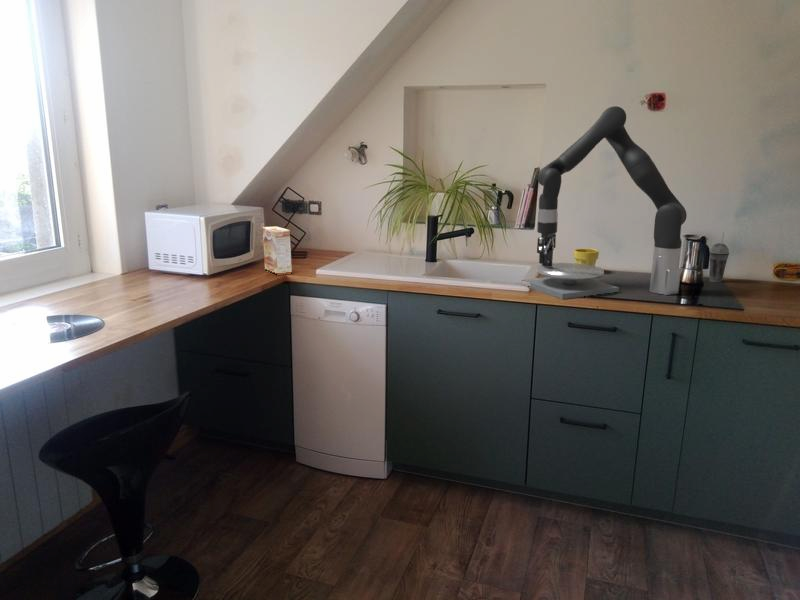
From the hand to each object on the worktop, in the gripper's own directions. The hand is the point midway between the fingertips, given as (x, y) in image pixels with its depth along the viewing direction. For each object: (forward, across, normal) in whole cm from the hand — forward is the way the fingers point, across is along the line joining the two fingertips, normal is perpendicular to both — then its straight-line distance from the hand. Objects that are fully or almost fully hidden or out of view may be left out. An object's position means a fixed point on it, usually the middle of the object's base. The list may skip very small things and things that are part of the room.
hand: (545, 261), depth 238 cm
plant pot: (+10, -34, +6) cm, 36 cm away
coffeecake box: (+8, +39, -108) cm, 115 cm away
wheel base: (+10, +1, +10) cm, 14 cm away
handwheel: (+3, +1, +10) cm, 11 cm away
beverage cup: (+11, -45, +56) cm, 73 cm away
